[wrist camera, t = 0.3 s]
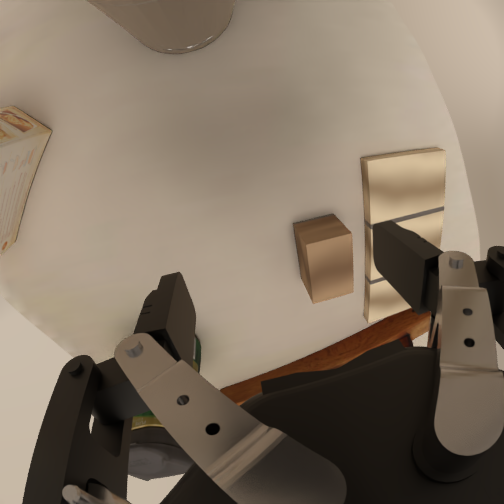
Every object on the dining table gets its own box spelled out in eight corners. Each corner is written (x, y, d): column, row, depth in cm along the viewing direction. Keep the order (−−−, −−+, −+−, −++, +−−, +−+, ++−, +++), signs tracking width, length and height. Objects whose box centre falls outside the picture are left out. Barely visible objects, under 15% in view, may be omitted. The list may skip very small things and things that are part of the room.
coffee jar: (162, 371, 39) (155, 489, 23) (121, 342, 35) (94, 467, 19) (212, 344, 37) (220, 478, 21) (169, 309, 33) (154, 456, 17)
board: (360, 158, 27) (367, 161, 26) (437, 147, 27) (445, 150, 26) (363, 316, 38) (368, 323, 37) (425, 294, 38) (430, 299, 37)
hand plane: (418, 290, 38) (455, 333, 29) (421, 311, 40) (453, 353, 32) (218, 387, 42) (222, 442, 34) (235, 401, 45) (241, 452, 36)
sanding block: (292, 222, 30) (306, 244, 26) (332, 213, 30) (351, 233, 26) (300, 277, 33) (313, 303, 29) (336, 267, 34) (353, 292, 29)
